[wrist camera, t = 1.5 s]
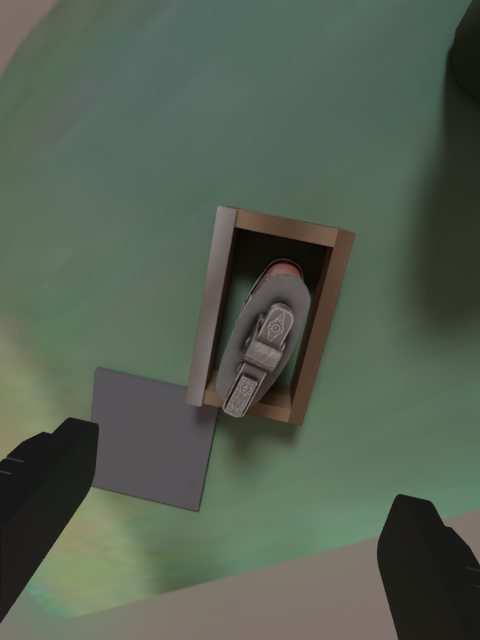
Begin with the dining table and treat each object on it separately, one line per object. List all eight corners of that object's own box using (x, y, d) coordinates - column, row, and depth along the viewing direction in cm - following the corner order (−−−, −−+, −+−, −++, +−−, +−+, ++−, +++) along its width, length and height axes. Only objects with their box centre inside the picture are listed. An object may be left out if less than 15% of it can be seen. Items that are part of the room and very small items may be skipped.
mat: (221, 395, 30) (220, 398, 29) (199, 505, 33) (197, 511, 32) (98, 367, 30) (95, 370, 29) (89, 479, 33) (85, 484, 33)
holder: (345, 230, 25) (357, 234, 21) (299, 400, 29) (302, 429, 25) (227, 206, 25) (218, 205, 22) (197, 377, 29) (185, 403, 26)
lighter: (269, 248, 26) (262, 271, 16) (313, 269, 26) (332, 304, 17) (222, 346, 28) (192, 416, 19) (263, 365, 28) (253, 444, 19)
